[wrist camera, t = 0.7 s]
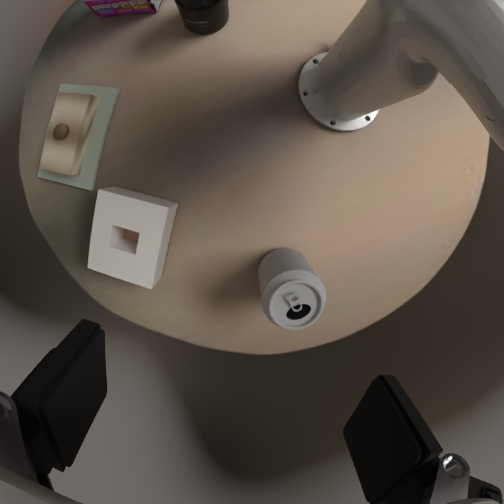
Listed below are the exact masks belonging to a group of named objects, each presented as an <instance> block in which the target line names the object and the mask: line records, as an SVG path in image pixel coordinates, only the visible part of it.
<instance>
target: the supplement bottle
mask: <svg viewBox="0 0 504 504" xmlns="http://www.w3.org/2000/svg"><path fill="white" fill-rule="evenodd" d="M175 3H176V5H177V8H178V10H179V13H180V15H181V18H182V21H183V23H184V25H185V27H186V28H187V29H188V30H189V31H191V32H193V33H195V34H201V35H204V34H211V33H214V32H217V31H218V30H220V29H221V28H223V27H224V26H225V24H226V23H227V21H228V18H229V8H228V0H175Z"/></svg>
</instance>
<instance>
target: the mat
mask: <svg viewBox="0 0 504 504" xmlns="http://www.w3.org/2000/svg"><path fill="white" fill-rule="evenodd" d="M120 90H121V89H120V88H116V87H106V86H94V85H79V84H61V85H60V88H59V91H58V94H59V92H65V93H80V94H91V95H94V96H96V97H98V98H100V101H99V104H98V107H97V110H96V113H95V116H94V120H93V123H92V127H91V130H90V134H89V138H88V142H87V146H86V150H85V154H84V158H83V163H82V167H81V172H80V175H66V174H62V173H58V172H53V171H49V170H45V169H40V165H39V171H38V177H39V178H43V179H47V180H51V181H55V182H59V183H63V184H67V185H71V186H75V187H79V188H83V189H86V190H90V191H93V190H94V185H95V180H96V175H97V170H98V166H99V161H100V157H101V153H102V149H103V145H104V141H105V138H106V134H107V130H108V127H109V124H110V120H111V117H112V114H113V110H114V107H115V104H116V101H117V98H118V95H119V92H120ZM58 94H57V97H58ZM57 97H56V100H57ZM55 103H56V101H55ZM54 107H55V104H54ZM54 107H53V110H54ZM53 110H52V113H53ZM51 117H52V114H51ZM51 117H50V121H51ZM50 121H49V124H50ZM48 128H49V125H48ZM47 132H48V129H47ZM46 136H47V133H46ZM45 140H46V137H45ZM44 145H45V141H44ZM44 145H43V149H44ZM42 154H43V150H42ZM41 159H42V155H41ZM40 164H41V160H40Z"/></svg>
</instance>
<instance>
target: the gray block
mask: <svg viewBox="0 0 504 504" xmlns="http://www.w3.org/2000/svg"><path fill="white" fill-rule="evenodd" d="M178 206H179V202H175V201H172V200H168V199H164V198H161V197H157V196H153V195H149V194H145V193H141V192H138V191H134V190H130V189H126V188H122V187H118V186H116V187H110V188H103V189H99V190H98V195H97V200H96V206H95V212H94V218H93V225H92V232H91V240H90V248H89V257H88V268H89V269H92V270H95V271H98V272H101V273H104V274H106V275H109V276H112V277H115V278H118V279H121V280H124V281H127V282H130V283H134V284H137V285H140V286H143V287H146V288H149V289H152V288H153V287H154V286H155V284H156V283H157V282H158V280H159V279H160V277H161V276H162V275H163V272H164V267H165V262H166V258H167V253H168V248H169V244H170V239H171V235H172V231H173V226H174V222H175V218H176V214H177V210H178Z"/></svg>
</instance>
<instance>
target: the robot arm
mask: <svg viewBox="0 0 504 504" xmlns="http://www.w3.org/2000/svg"><path fill="white" fill-rule="evenodd" d="M313 62H315V63H316V64H314V63H313ZM438 72H440V73H441V74H442V75H443V76H444V78H445V79H446V80H447V81H448V82H449V83H450V84H452V85H453V86H454V88H455V89H456V90H457V91H458V92H459V94H460V95H461V96H462V97H463V99H464V100H465V101H466V102H467V104H468V105H469V106H470V108H471V109H472V110H473V112H474V113H475V114H476V116H477V117H478V119H479V120H480V121H481V123H482V124H483V126H484V127H485V129H486V130H487V132H488V133H489V134H490V136H491V137H492V138H493V140H494V141H495V142H496V143H497V145H498V146H499V147H501V149H502V150H504V0H367V1H366V2H365V4H364V6H363V7H362V9H361V10H360V11H359V13H358V14H357V15H356V17H355V18H354V19H353V21H352V22H351V23H350V24H349V26H348V27H347V28H346V29H345V31H344V32H343V33H342V35H341V36H340V37H339V38H338V40H337V41H336V42H335V44H334V45H333V46H332V47H331V49H330V50H329V51H328V52H324V53H320V54H318V55H316V56H314V57H312V58H311V59H310V60H308V61H307V63H306V64H305V65H304V66H303V68H302V70H301V72H300V75H299V78H298V93H299V96H300V100H301V102H302V104H303V106H304V108H305V109H306V110H307V112H308V113H309V114H310V116H312V117H313V118H314V119H315V120H316V121H317V122H319V123H320V124H322V125H323V126H325V127H328V128H330V129H333V130H337V131H344V132H349V131H355V130H359V129H361V128H363V127H366V126H367V125H369V124H370V123H371V122H372V121H373V120H374V119H375V118H376V116H377V114H378V112H379V110H380V109H381V108H384V107H386V106H389V105H392V104H394V103H397V102H399V101H402V100H405V99H407V98H410V97H413V96H416V95H418V94H420V93H422V92H424V91H426V90H427V89H428V88H429V87H430V86H431V85H432V84H433V82H434V81H435V79H436V77H437V75H438ZM303 93H305V94H306V96H304V95H303ZM365 118H366V119H367V120H365ZM330 122H332V123H333V125H331V124H330ZM106 394H107V378H106V360H105V333H104V330H102V329H101V328H100V325H99V324H98V323H95V322H92V321H89V320H86V319H83V320H81V321H80V322H79V324H77V325H76V327H75V328H74V329H73V330H72V331H71V332H70V333H69V334H68V335H67V336H66V337H65V338H64V339H63V341H62V342H61V343H60V344H59V345H58V346H57V347H56V348H53V349H52V350H51V351H49V353H48V354H47V355H46V356H45V357H44V358H43V359H42V360H41V362H40V363H39V364H38V365H37V366H36V367H35V368H34V369H33V371H32V372H31V373H30V374H29V375H28V376H27V377H26V379H25V380H24V381H23V382H22V384H21V385H20V386H19V387H18V388H17V389H16V391H15V392H14V393H13V394H12V395H11V397H10V396H8V395H7V394H5V393H3V392H1V391H0V504H82V503H79V502H77V501H75V500H72V499H70V498H68V497H65V496H63V495H61V494H59V493H57V492H55V491H54V489H53V486H52V484H51V481H50V478H49V475H48V474H49V473H50V472H51V470H52V468H55V469H57V470H59V471H61V472H64V470H65V467H66V466H67V467H71V465H72V464H73V462H74V460H75V457H76V455H77V453H78V451H79V449H80V447H81V445H82V443H83V441H84V439H85V437H86V434H87V432H88V430H89V428H90V426H91V424H92V422H93V420H94V418H95V416H96V414H97V412H98V411H99V409H100V406H101V405H102V403H103V401H104V399H105V397H106ZM343 434H344V438H345V441H346V444H347V446H348V449H349V452H350V455H351V457H352V460H353V463H354V466H355V469H356V472H357V475H358V478H359V481H360V483H361V486H362V489H363V492H364V495H365V498H366V500H367V501H368V502H369V503H370V504H504V500H502V495H501V491H500V489H499V488H498V487H496V486H494V485H492V484H490V483H487V482H484V481H481V480H479V479H477V478H474V477H471V476H470V468H469V465H468V463H467V462H466V461H465V459H464V458H462V457H461V456H459V455H457V454H454V453H448V454H445V455H444V456H443V457H442V458H441V459H440V458H439V457H438V456H439V455H440V453H441V452H442V451H443V449H442V448H441V446H440V444H439V443H438V441H437V440H436V438H435V436H434V435H433V433H432V432H431V430H430V429H429V427H428V425H427V424H426V422H425V421H424V419H423V418H422V417H421V415H420V413H419V412H418V410H417V409H416V407H415V405H414V404H413V402H412V401H411V400H410V398H409V397H408V395H407V393H406V392H405V390H404V389H403V387H402V386H401V385H400V383H399V382H398V380H397V379H396V377H395V376H393V375H379V376H378V377H377V378H376V379H374V380H373V381H372V382H371V384H370V386H369V388H368V389H367V391H366V393H365V395H364V396H363V398H362V400H361V401H360V403H359V405H358V406H357V408H356V410H355V411H354V413H353V414H352V416H351V417H350V419H349V420H348V422H347V423H346V425H345V427H344V430H343Z"/></svg>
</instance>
